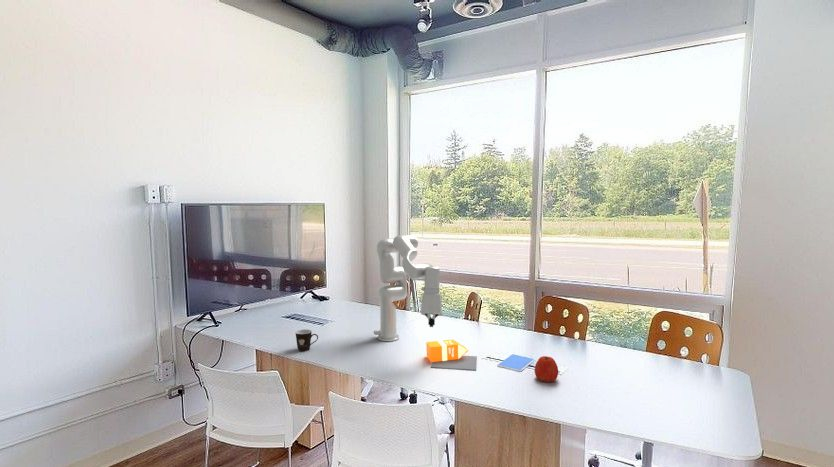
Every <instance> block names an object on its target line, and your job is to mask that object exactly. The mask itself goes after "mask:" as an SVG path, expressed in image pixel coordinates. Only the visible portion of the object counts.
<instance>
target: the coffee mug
mask: <svg viewBox="0 0 834 467" xmlns="http://www.w3.org/2000/svg"><path fill="white" fill-rule="evenodd" d="M312 331H313V330H311V329H307V328H306V329H299V330H298V329H297V330H296V331H295V339H296V346H297V351H298V352H300V353H302V352H309V351H310V349H311V345H313V344H314V343H316V342H317V340H319V336H318V334H316V333H313V334H312ZM313 336H316V339H315V341H313V342H312V341H311V340H312V337H313Z"/></svg>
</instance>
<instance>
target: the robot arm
mask: <svg viewBox="0 0 834 467" xmlns="http://www.w3.org/2000/svg"><path fill="white" fill-rule="evenodd" d="M418 246H419V240H418V238H417V237H416V236H415V235H413V234H401V235H400V234H399V235H396V236H394V237H393V238H392V237H391V238H383V239H381V240H378V243H377V244H376V253H377V255H378V260H379V275H380V282H382V284H390V285H383V286H381V287H380V288H379V290H378V298H379V308H380V309H379V311H380V313H379V315H380V317H379V318H380V330H373V335H375V336H376V335H377V340H379V341H381V342H394V341H397V340H399V339H400V335H399V334H398V333H397V307H396V305H395V304H394V302H397V301H403V300H405V299H406V298H407V296H408V281H407V277H408V278H409V279H411V280H422V279H424V281H423V282H424V287H421V291H423V292H422V295H421V306H420V308H421V309H420V310H421V312H420V314H421V315H423V316H425V317H426V318H427V320H428V326H429V328H433V327H434V326H435V325H436V323H435V320H436V319H437V317H441V316H443V299H442V295H441V292H440V272H441V270H440V267H439V266H437V265H433V264H432V263H417V264H413V263H412V261H414V260H415V259H416V257H417V256H418V250H417V248H418ZM392 253H393V254H395V253H398V254H399V255H400V256H401V258H402V260H401V265H402V266H399V265H398V266H395V259H394V257H393V255H392ZM394 283H395V284H394Z"/></svg>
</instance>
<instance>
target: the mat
mask: <svg viewBox="0 0 834 467" xmlns="http://www.w3.org/2000/svg"><path fill="white" fill-rule="evenodd" d="M477 359H478V356H475V355H463V356H462V357H460V358H459V359H454V360H446V361H436V362H431V364H430V368H432V369H448V370H458V371H459V370H461V371H475V372H476V371H477V365H478V364H477V363H478V360H477Z"/></svg>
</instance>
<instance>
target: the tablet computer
mask: <svg viewBox="0 0 834 467" xmlns="http://www.w3.org/2000/svg"><path fill="white" fill-rule="evenodd" d="M535 361H536V359H534V358H532V357H526V356H522V355H519V354H511V355H509V356H508V357H506V358H505V359H503V360H502V361H500V362H499V363H498V364H496V366H497V367H498V368H502V369H507V370H511V371H513V372H514V371H515V372H519V373H520V372H523V371H524V370H525V369H526V368H527V367H529V366H530V365H531V364H533V362H535Z"/></svg>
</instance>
